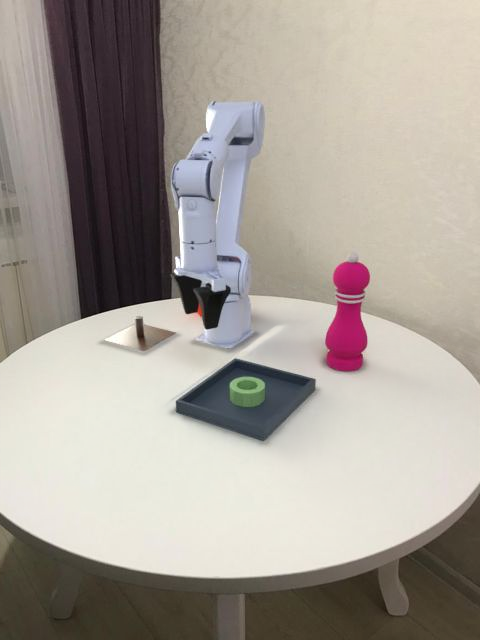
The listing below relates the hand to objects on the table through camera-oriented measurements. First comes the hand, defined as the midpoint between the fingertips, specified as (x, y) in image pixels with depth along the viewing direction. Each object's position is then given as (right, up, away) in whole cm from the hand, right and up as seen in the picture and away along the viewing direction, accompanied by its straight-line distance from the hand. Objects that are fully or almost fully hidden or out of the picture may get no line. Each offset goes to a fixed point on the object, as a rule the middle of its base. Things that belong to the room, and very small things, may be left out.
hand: (200, 320), depth 98 cm
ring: (+8, -13, -6) cm, 16 cm away
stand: (-13, -3, +17) cm, 21 cm away
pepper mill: (+25, -8, +6) cm, 27 cm away
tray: (+8, -13, -6) cm, 16 cm away
